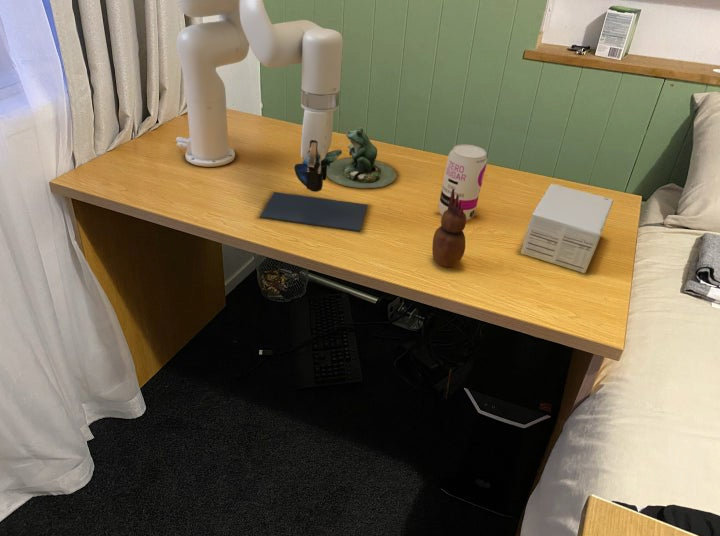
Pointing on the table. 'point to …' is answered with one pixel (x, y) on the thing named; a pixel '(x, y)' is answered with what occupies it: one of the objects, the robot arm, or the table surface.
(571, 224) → the supplement box
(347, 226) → the mat
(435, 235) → the wooden figurine
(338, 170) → the frog figurine
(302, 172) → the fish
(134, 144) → the table surface
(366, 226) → the table surface
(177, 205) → the table surface
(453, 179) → the supplement can
